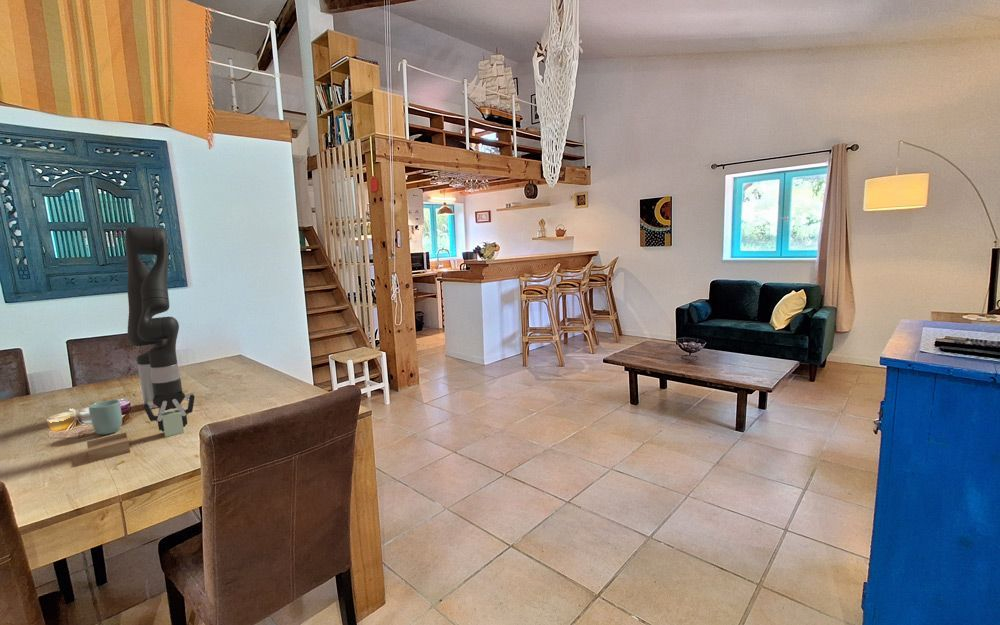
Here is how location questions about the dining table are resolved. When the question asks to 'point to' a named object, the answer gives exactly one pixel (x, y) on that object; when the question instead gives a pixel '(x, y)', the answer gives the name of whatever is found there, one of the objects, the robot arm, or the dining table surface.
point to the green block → (172, 422)
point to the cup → (106, 416)
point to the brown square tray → (108, 447)
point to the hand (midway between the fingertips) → (173, 428)
